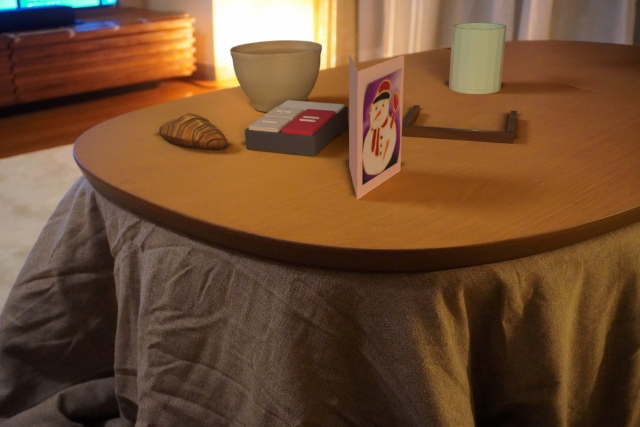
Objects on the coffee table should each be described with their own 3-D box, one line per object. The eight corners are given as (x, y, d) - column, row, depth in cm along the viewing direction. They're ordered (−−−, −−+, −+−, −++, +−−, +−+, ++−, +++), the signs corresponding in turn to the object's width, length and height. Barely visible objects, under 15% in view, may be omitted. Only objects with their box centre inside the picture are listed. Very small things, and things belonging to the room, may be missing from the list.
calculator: (242, 125, 89) (285, 96, 102) (245, 153, 91) (287, 121, 104) (313, 131, 86) (348, 101, 98) (314, 160, 87) (349, 127, 100)
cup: (510, 91, 121) (517, 27, 116) (464, 96, 118) (469, 31, 113) (482, 81, 129) (488, 21, 124) (439, 85, 126) (442, 24, 122)
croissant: (145, 143, 95) (140, 111, 93) (178, 132, 100) (174, 102, 98) (208, 159, 87) (205, 124, 85) (241, 146, 92) (238, 113, 90)
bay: (413, 113, 107) (414, 104, 107) (516, 119, 102) (517, 110, 102) (398, 135, 96) (399, 126, 95) (513, 143, 91) (514, 133, 90)
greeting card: (363, 201, 72) (364, 72, 66) (310, 189, 76) (307, 66, 70) (406, 171, 81) (410, 55, 75) (356, 162, 85) (357, 50, 79)
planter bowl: (311, 94, 122) (310, 37, 118) (332, 114, 108) (332, 50, 103) (230, 100, 119) (225, 42, 114) (240, 122, 104) (235, 56, 100)
